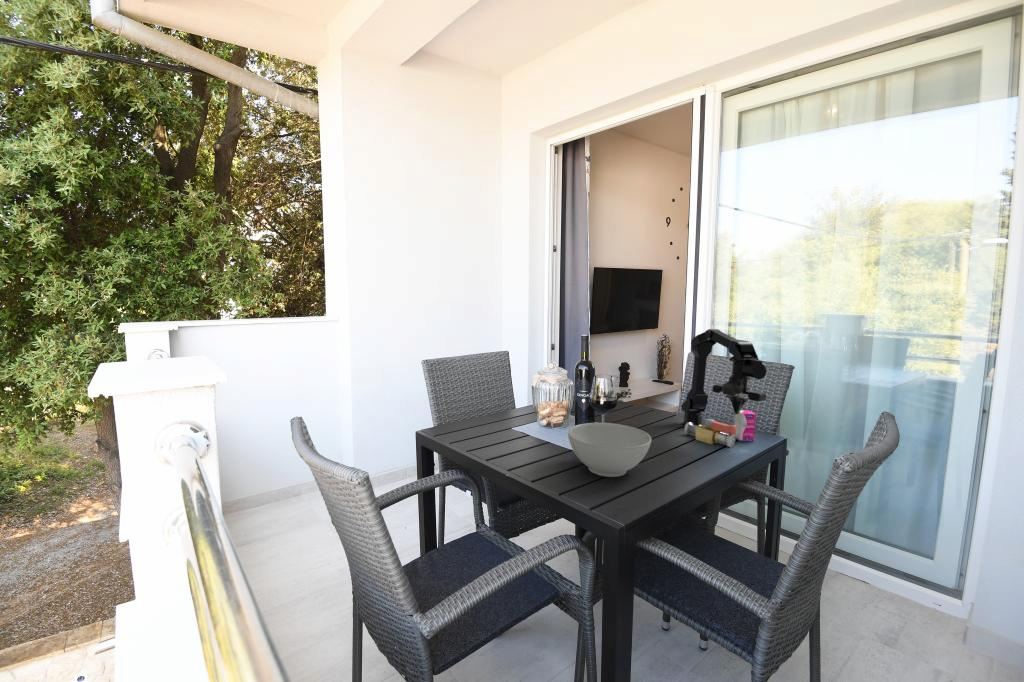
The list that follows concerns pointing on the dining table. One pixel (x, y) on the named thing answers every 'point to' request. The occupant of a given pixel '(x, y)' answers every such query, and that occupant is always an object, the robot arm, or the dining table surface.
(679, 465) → the dining table surface
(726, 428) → the lever
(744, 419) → the supplement box
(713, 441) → the valve body
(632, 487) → the dining table surface
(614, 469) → the decorative bowl
